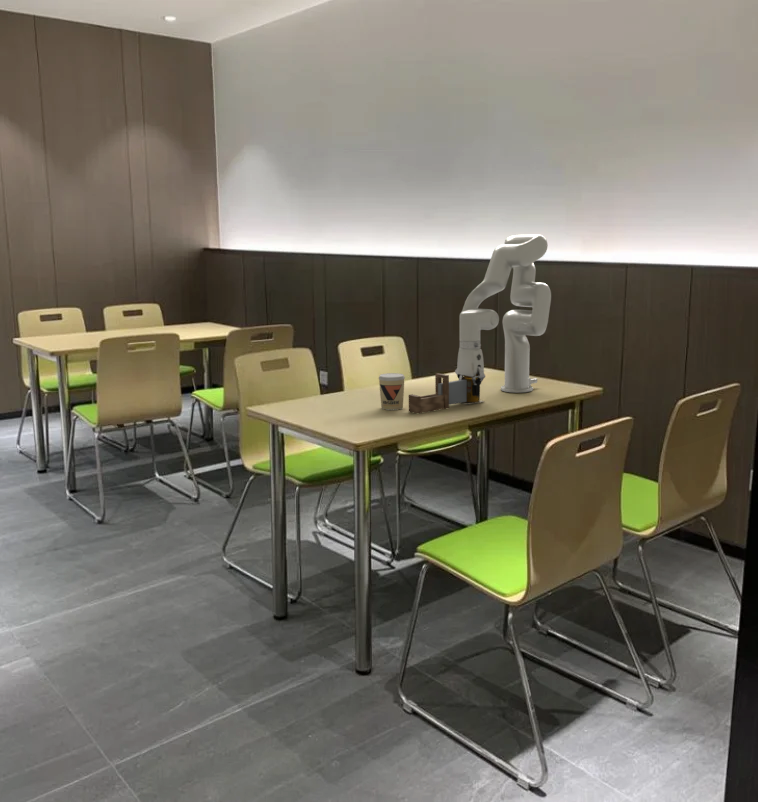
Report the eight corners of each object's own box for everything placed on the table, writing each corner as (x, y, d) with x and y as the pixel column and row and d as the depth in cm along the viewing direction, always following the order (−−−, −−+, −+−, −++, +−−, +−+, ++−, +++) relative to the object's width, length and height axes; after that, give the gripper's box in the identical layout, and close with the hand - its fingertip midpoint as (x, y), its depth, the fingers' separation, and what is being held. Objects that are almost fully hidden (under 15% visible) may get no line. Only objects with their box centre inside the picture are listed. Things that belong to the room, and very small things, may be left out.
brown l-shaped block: (439, 405, 286) (438, 373, 283) (448, 408, 281) (448, 375, 279) (408, 411, 278) (407, 377, 275) (417, 414, 273) (417, 379, 271)
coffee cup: (377, 410, 280) (376, 377, 278) (381, 405, 289) (380, 372, 287) (403, 411, 279) (403, 377, 276) (406, 405, 288) (406, 373, 285)
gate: (463, 400, 289) (463, 379, 288) (466, 401, 288) (466, 380, 287) (438, 405, 283) (438, 383, 281) (441, 406, 281) (440, 384, 280)
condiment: (484, 401, 290) (484, 369, 287) (466, 405, 285) (466, 372, 283) (471, 398, 296) (471, 367, 293) (454, 401, 291) (454, 369, 289)
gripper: (493, 346, 281) (493, 396, 285) (462, 342, 295) (462, 389, 299) (478, 348, 277) (477, 398, 280) (446, 343, 291) (446, 391, 294)
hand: (469, 393), depth 289 cm, fingers closed on condiment, 6 cm apart
